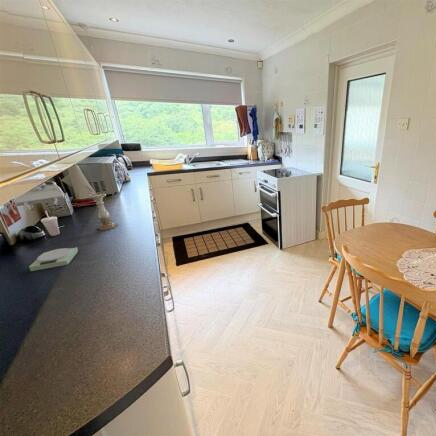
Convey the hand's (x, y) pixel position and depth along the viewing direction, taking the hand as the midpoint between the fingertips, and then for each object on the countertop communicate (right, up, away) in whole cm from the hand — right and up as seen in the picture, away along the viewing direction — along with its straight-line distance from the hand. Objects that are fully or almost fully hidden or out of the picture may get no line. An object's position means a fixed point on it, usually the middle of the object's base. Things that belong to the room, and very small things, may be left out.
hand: (43, 207), depth 128 cm
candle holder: (+27, -12, +10) cm, 31 cm away
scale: (+32, -25, -24) cm, 47 cm away
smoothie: (+6, -15, +1) cm, 16 cm away
